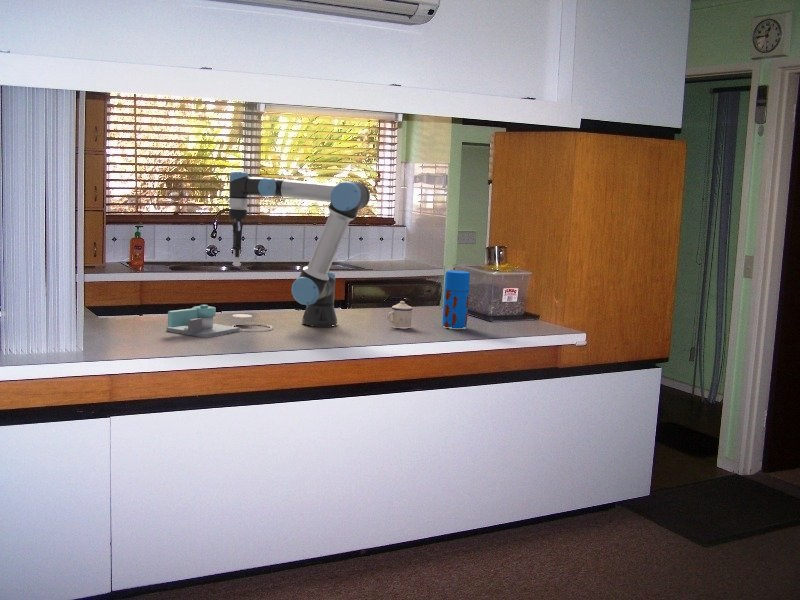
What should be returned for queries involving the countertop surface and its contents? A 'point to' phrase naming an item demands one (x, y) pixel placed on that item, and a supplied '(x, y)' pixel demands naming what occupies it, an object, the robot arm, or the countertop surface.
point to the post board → (205, 331)
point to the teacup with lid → (400, 315)
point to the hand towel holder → (245, 316)
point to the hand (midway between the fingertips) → (236, 264)
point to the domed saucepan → (189, 315)
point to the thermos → (456, 299)
